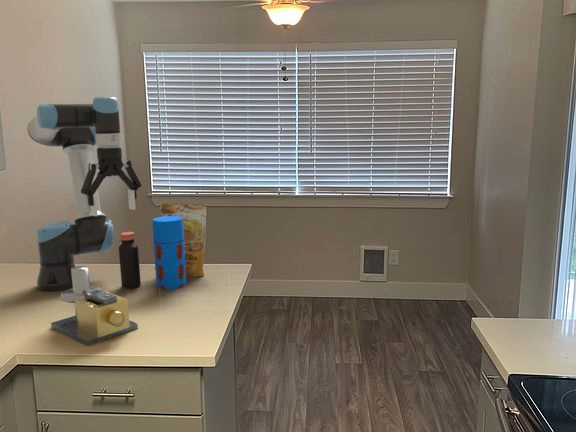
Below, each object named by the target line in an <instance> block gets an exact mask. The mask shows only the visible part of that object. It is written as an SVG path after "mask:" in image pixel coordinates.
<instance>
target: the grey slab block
mask: <svg viewBox="0 0 576 432" xmlns="http://www.w3.org/2000/svg"><path fill="white" fill-rule="evenodd" d="M105 292H106V291H103V292H102V291H99V290H94V291H91V292H87V293H84V294H85V298H86V299H88V300H90V302H92V303H94V304H97V305H101V304H102V305H107V304H110V303H113V302H116V301H117V297H116V296H114V295H111V294H108V293H105Z"/></svg>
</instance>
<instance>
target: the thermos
mask: <svg viewBox="0 0 576 432" xmlns="http://www.w3.org/2000/svg"><path fill="white" fill-rule="evenodd" d="M152 236H153V237H152V238H153V251H154V254H153V255H154V263H155V265H154V266H155V278H156V279H155V280H156V286H157V288H158V289H161V290H168V291H169V290H170V291H171V290H178V289H181V288H184V287H185V286H186V285H187V277H186V265H185V248H184V230H183V219H182V217H179V216H164V217H161V216H158V217H154V218H153V219H152Z"/></svg>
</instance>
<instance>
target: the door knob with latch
mask: <svg viewBox="0 0 576 432" xmlns="http://www.w3.org/2000/svg"><path fill="white" fill-rule="evenodd" d="M71 273H72V284H73V287H72V288H69V289H65V290H63V291H62V292H61V293H60V300H61V301H62V302H64V303H70V304H74V312H75V313H74V314H75V315H72V316H70V317H66V318H63V319H59V320H56V321H51V322H50V326H51V329H53V330H56V332H57V331H58V332H59V333H62V334H63V335H65V336H67V337H69V338H71V339H73V340H75V341H77V342H79V343H81V344H83V345H84V346H87V347H88V346H92V345H95V344H98V343H100V342H102V341H105V340H106V341H107V340H109V339H111V338H114V337H118V336H120V335H123V334H125V333H128V332H131V331H134V330H137V329H138V326H139V325H138V323H137V322H135V321H132V320H130V316H129V303H128V298H125V297H123V296H120V295H117V294H115V293H112V292H109V291H104V288H102V287H101V286H96V285H91V284H90V283H91V282H90V271H89V266H87V265H80V266H76V267H73V268H71ZM94 290H99V291H102V292H105V293H108V294H111V295H114V296H116V297H117V301H116V302H113V303H110V304H107V305H102V304H101V305H97V304H94V303H92V302H90V300H88V299H86V298H85V294H84V293H87V292H91V291H94Z"/></svg>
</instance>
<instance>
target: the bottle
mask: <svg viewBox="0 0 576 432" xmlns="http://www.w3.org/2000/svg"><path fill="white" fill-rule="evenodd" d="M135 239H136V238H135V232H134V231H124V232H121V233H120V242H121V243H120V245H119V247H118V258H119V269H120V270H119V271H120V281H121V287H122V288H123V289H125V290H126V289H136V288H139V287H140V286H141V283H142V282H141V270H140V267H141V266H140V256H139V253H140V252H139V246H138V244H137V243H135Z"/></svg>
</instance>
